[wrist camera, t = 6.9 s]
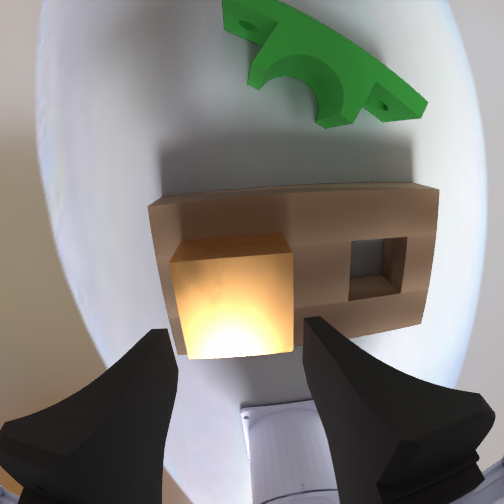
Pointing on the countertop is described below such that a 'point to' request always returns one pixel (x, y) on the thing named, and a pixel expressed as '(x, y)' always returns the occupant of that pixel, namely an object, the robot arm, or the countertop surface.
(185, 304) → the orange block
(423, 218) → the board
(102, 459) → the robot arm
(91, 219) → the countertop surface
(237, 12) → the pipe clamp
